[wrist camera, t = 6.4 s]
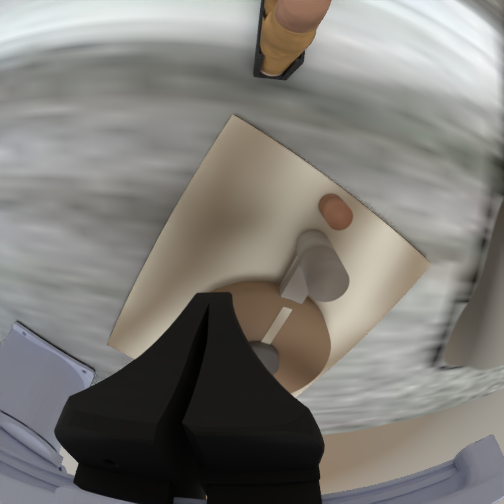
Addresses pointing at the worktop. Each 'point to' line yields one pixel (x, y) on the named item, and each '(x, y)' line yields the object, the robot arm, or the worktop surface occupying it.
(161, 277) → the board
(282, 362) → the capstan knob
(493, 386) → the worktop surface
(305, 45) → the ammunition clip
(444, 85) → the worktop surface
